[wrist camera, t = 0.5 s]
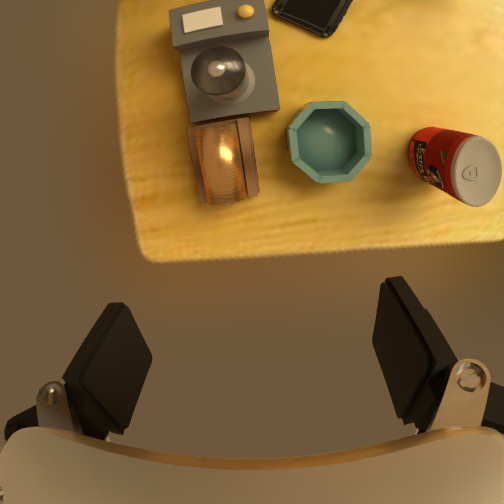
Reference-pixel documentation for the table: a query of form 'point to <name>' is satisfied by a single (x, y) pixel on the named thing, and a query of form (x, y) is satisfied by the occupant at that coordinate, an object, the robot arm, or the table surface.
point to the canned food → (457, 164)
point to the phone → (313, 14)
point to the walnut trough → (245, 151)
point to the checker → (233, 36)
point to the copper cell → (221, 164)
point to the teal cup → (329, 141)
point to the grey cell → (220, 72)
